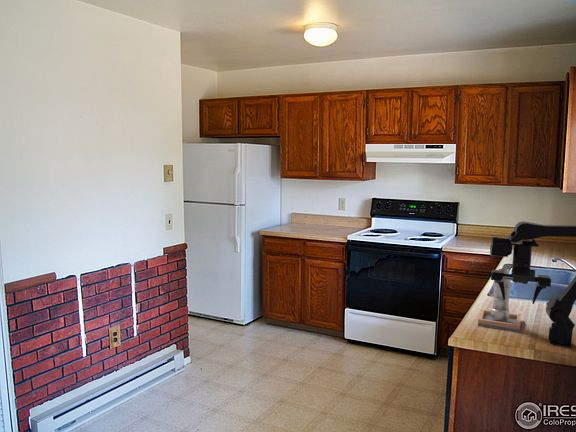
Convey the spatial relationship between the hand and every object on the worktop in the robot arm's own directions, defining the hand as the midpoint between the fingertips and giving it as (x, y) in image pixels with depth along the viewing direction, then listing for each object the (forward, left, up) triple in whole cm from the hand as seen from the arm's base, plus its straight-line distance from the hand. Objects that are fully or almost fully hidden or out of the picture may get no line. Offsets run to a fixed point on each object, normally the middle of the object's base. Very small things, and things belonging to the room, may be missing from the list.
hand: (518, 301), depth 173 cm
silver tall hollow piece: (+6, -15, -12) cm, 20 cm away
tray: (+6, -15, -13) cm, 21 cm away
